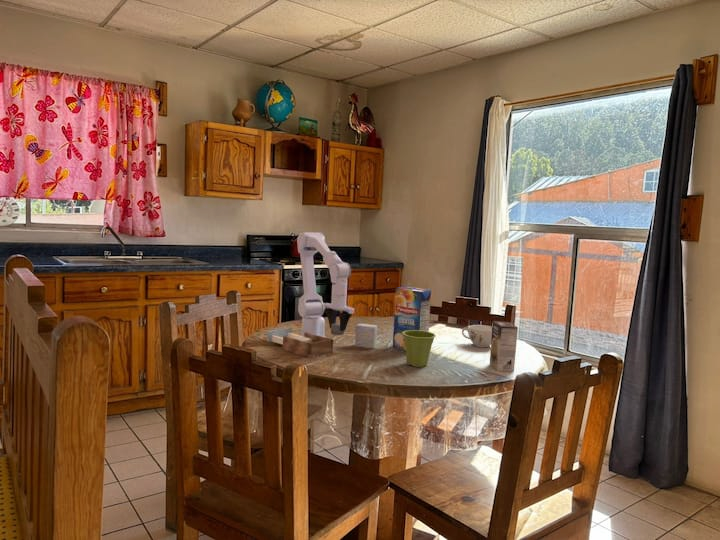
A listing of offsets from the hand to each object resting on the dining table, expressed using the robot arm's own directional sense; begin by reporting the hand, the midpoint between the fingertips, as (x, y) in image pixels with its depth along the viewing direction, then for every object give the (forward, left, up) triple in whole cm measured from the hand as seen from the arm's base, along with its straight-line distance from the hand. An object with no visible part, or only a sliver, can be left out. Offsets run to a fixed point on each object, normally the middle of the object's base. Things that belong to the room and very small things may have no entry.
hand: (337, 329), depth 212 cm
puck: (0, 0, -2) cm, 2 cm away
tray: (+11, -14, -6) cm, 19 cm away
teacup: (-52, +32, -8) cm, 62 cm away
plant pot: (-7, +33, -8) cm, 35 cm away
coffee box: (-28, +55, -8) cm, 62 cm away
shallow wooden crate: (+11, -6, -8) cm, 15 cm away
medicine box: (-12, +4, -8) cm, 15 cm away
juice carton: (-24, +17, -8) cm, 31 cm away
